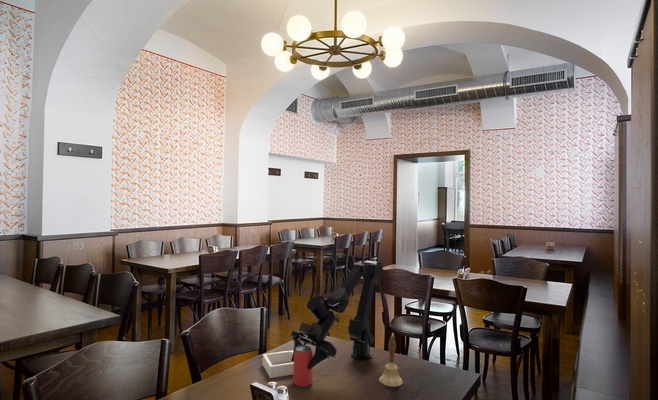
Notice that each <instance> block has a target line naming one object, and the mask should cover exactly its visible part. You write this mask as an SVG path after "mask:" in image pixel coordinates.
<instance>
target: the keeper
mask: <svg viewBox="0 0 658 400" xmlns="http://www.w3.org/2000/svg"><path fill="white" fill-rule="evenodd" d="M293 351H294V349H293V350H286V351H285V350H284V351H278V352H277V351H276V352H269V353H268V352H267V353H263V354H262V366H263V368H264V370H265V372H266V373H267V375H268V377H269V379H272V378H279V377H285V376H293V368H294V362H292V361H291V359H292V355H293Z"/></svg>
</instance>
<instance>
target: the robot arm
mask: <svg viewBox="0 0 658 400" xmlns="http://www.w3.org/2000/svg"><path fill="white" fill-rule="evenodd" d="M383 270H384V266H383V265H382V263H381V262H380V261H375V260H365V261H363V262H355V263H353V265H352V268H351V270H350V271H349V273H348V275H346V277H345V278H344V279H343V282H342V283H341V284H340V286H339V287H338V288H337V289H335V290H333V291H332V292H331V293H330V294H329V295H328V296H327V298H324V296H323V295H321V294H316V296H313V297H312V298H310V299H309V300H308V301H307V303H306V308H307V310H308V311H309V312H310V313H311V315H313V317H314V318H315V319H317V320H316V322H312V323H311V324H309V323H305V322H303V321H302V322H301V323H300V325H299V327H298V328H299V329H298V330H297V329H295V330H294V329H293V330H292V332H291V333H290V335H289V336H290V337H291V338H292V341H293V342H294V345H293V346H294V347H293V355H292V359H291V361H292V362H294V353H295V350H296V347H298V346H307V345H310V346H313V347H315V349H314V350H315V352H314V353H313V357H312V359H311V361H310V363H309V365H308V369H309V370H310V369H311V368H314V367H316V366H317V365H318V364H320V363H322V362H323V361H325V360H326V359H330V357H331V358H333V359H334V358H335V357H336V354H337V348H336V347H335V346H334V344H332V342H330V341H327V340H326V338H327V337H330V335H331V333H330V330H331V329H332V327H333V325H334V323H340V318H339V315H338V314H342V313H344V312H345V311H346V309H347V307H348V306H349V302H350V296H351V294H352V293H353V291H354V289H355V288H356V286H357V285H358V284H359V282H360V280H361V279H362V280H363V283H362V287H361V291H360V295H359V302H358V306H357V311H356V315H355V316H354V317H353V318H350V320H349V325H348V327H347V329H348V331H347V333H348V335H349V339H350V341H353V345H352V353H351V354H350V356H351V357H353V358H355V359H357V360H359V361H364V360H367V359H372V358H373V355H372V354H370V353H371V349H370V348H371V345H373V343H374V342H375V336H374V335H373V334H372V333H371V323H370V320H369V316H370V311H371V305H372V301H373V296H374V292H375V286H376V283H377V282H378V281H379V280H380V279H381V276H382V273H383ZM335 312H336V313H338V314H336V313H335Z"/></svg>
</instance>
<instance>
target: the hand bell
mask: <svg viewBox="0 0 658 400" xmlns="http://www.w3.org/2000/svg"><path fill="white" fill-rule="evenodd" d="M395 339H396V338H395V336H394V335H390V337H389V340H388V353H389V358H388V363H386V364H385V366H384V371H383V373H382V375H381V376H380V377H379V378H378V381H379V383H381V384H382V385H384V386H387V387H392V388H393V387H394V388H395V387H400V386H402V385H403V384H404V381H403V379H402V377H401V376H400V374H399V367H398V366H397V364H395V351H396V347H397V343H396V340H395Z"/></svg>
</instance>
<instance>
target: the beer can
mask: <svg viewBox="0 0 658 400" xmlns="http://www.w3.org/2000/svg"><path fill="white" fill-rule="evenodd" d="M313 356H314V353H313V350H312V347H311V346H308V345H304V346H298V347H296V350H295V353H294V368H293V375H292V377H293V378H292V379H293V380H292V383H293V384H294V385H295V386H296V387H300V388H301V387H302V388H305V387H309V386H310V385H312V383H313V368H314V367H313V368H311V369H310V370H309V369H308V365H309V363H310V361H311V359H312V357H313Z"/></svg>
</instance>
